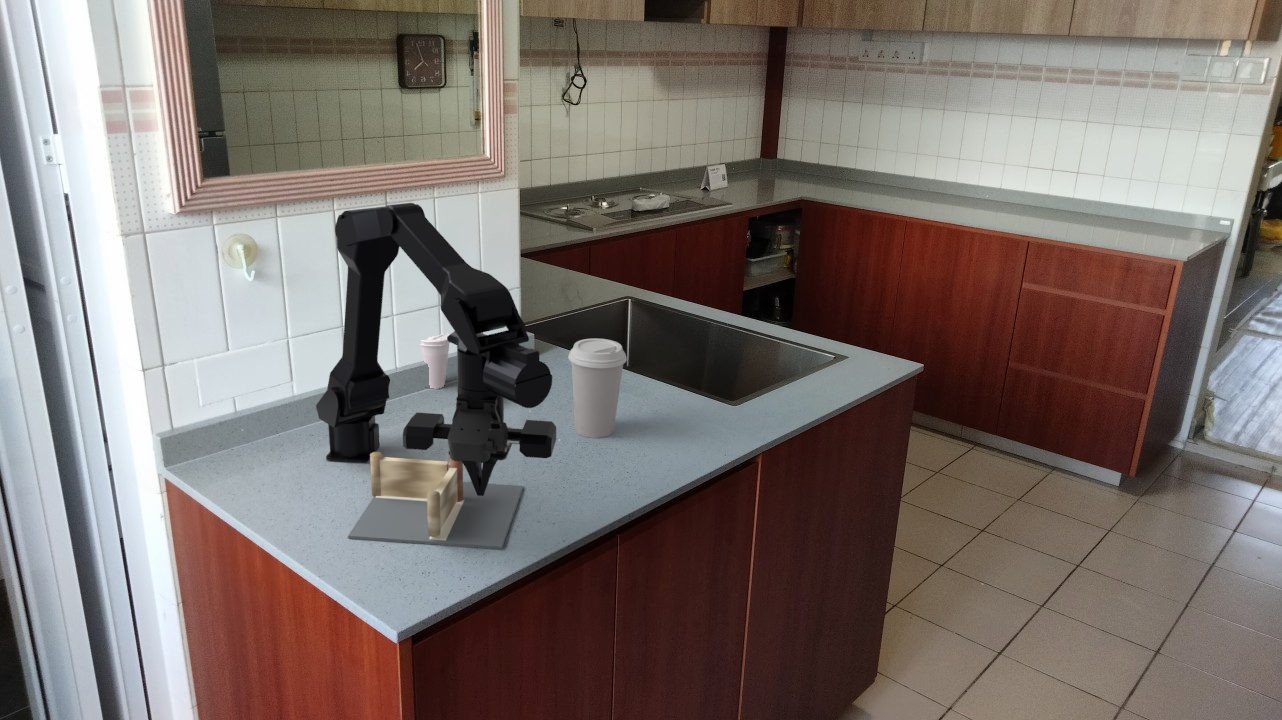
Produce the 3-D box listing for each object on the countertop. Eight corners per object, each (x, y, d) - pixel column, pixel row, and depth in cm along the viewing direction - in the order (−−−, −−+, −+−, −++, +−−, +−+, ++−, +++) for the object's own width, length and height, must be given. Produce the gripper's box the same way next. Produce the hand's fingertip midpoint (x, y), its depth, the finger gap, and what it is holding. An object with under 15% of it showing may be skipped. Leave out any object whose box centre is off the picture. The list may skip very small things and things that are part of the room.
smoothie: (454, 380, 176) (453, 308, 171) (449, 392, 170) (447, 319, 165) (420, 378, 175) (418, 307, 170) (413, 391, 169) (411, 317, 164)
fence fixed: (370, 496, 131) (368, 452, 129) (374, 490, 133) (372, 447, 130) (461, 503, 131) (461, 459, 128) (464, 497, 132) (464, 453, 130)
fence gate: (448, 499, 130) (447, 462, 128) (459, 500, 130) (459, 463, 128) (426, 536, 121) (425, 496, 119) (438, 537, 121) (437, 497, 119)
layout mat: (348, 538, 121) (348, 535, 121) (387, 478, 137) (387, 475, 137) (501, 549, 121) (501, 546, 120) (522, 488, 137) (523, 485, 136)
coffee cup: (576, 444, 152) (579, 358, 147) (558, 421, 160) (561, 338, 155) (631, 438, 155) (635, 353, 150) (611, 416, 164) (615, 335, 158)
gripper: (387, 402, 109) (392, 520, 114) (546, 413, 109) (543, 530, 114) (413, 369, 120) (416, 478, 125) (558, 379, 119) (555, 488, 125)
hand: (481, 494), depth 122 cm, fingers closed
